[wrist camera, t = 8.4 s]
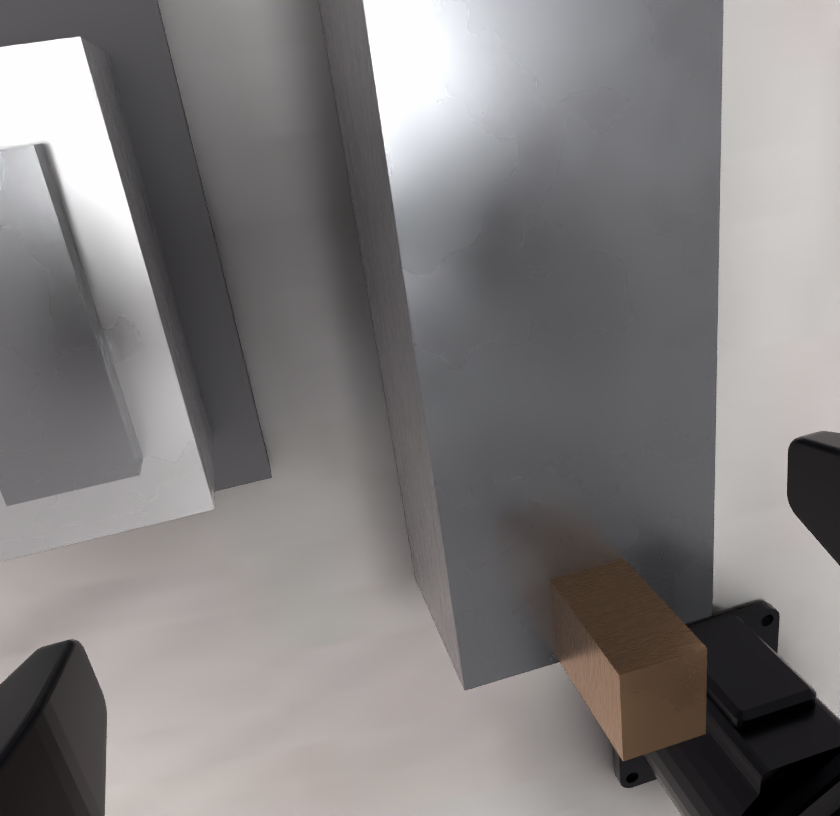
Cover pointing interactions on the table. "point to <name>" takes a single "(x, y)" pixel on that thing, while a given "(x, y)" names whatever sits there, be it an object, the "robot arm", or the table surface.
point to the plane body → (548, 328)
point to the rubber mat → (166, 204)
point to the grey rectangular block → (86, 318)
